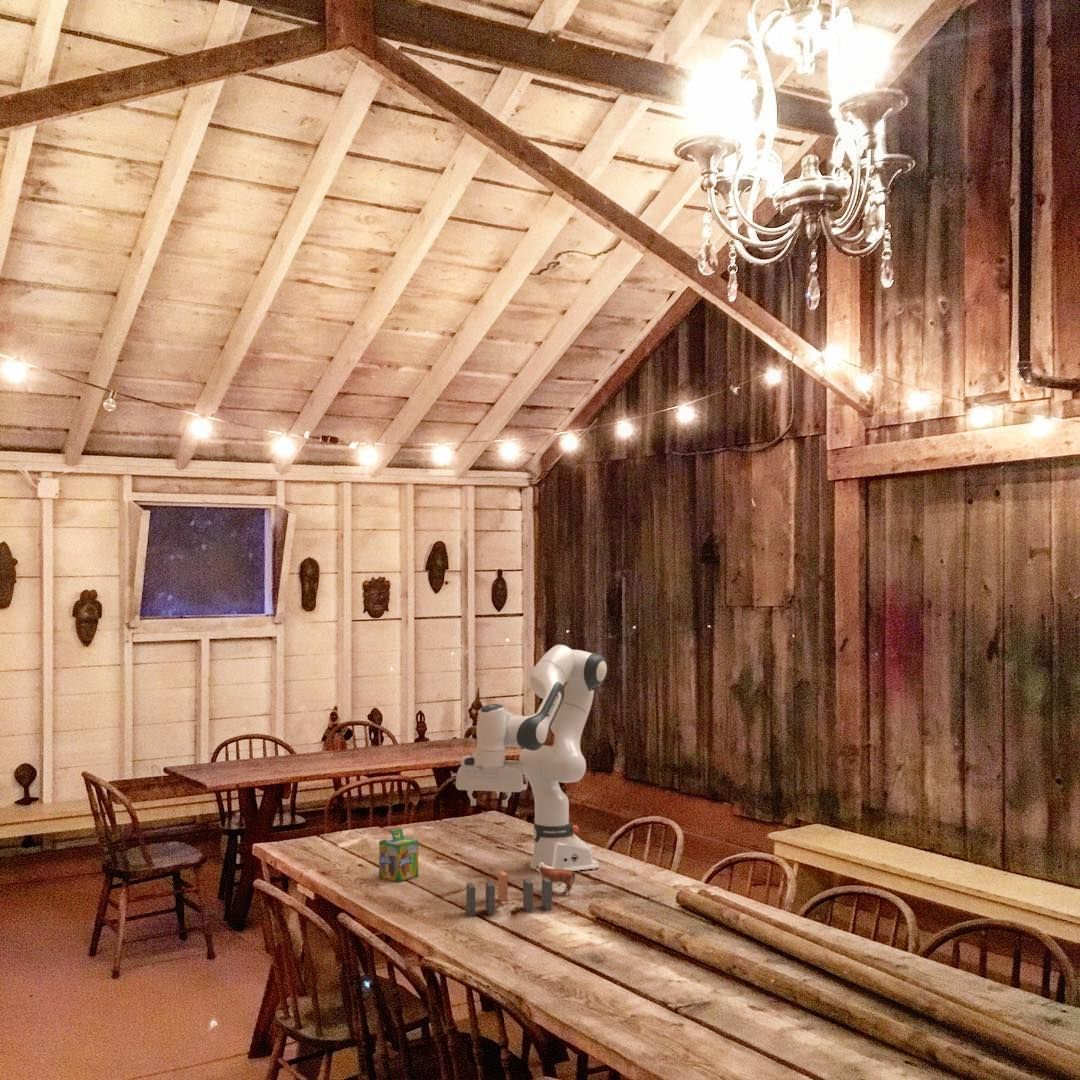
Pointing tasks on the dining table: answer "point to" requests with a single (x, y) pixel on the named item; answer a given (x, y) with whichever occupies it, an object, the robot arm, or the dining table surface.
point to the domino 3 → (502, 886)
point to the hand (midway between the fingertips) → (488, 806)
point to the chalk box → (398, 858)
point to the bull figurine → (557, 875)
